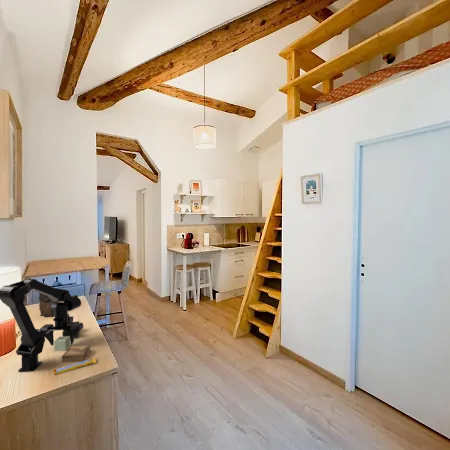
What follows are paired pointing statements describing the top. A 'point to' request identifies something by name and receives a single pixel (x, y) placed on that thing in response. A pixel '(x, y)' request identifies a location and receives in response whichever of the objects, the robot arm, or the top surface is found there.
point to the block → (62, 343)
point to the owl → (46, 305)
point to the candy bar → (74, 366)
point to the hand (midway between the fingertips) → (62, 344)
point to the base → (76, 353)
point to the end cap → (67, 332)
